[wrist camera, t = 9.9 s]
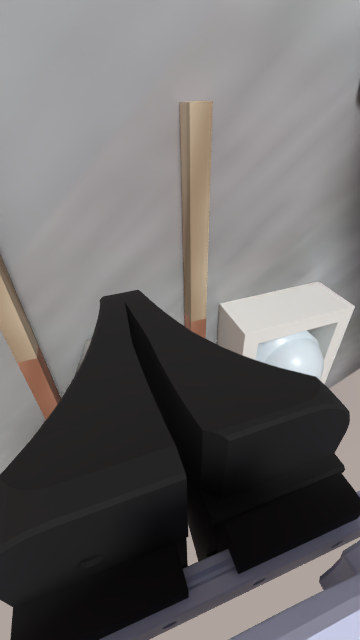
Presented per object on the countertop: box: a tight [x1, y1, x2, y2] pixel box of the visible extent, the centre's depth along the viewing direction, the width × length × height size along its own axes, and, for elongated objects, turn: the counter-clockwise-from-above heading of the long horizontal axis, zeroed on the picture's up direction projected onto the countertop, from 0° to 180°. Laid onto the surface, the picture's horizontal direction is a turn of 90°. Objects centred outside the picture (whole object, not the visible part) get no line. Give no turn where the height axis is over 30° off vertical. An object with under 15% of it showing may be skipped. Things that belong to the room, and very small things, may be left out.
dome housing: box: [217, 282, 355, 384], centre depth 22 cm, size 8×8×4 cm
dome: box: [255, 331, 324, 380], centre depth 21 cm, size 5×5×5 cm
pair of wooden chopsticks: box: [0, 101, 213, 419], centre depth 18 cm, size 11×23×1 cm, turn 2°
